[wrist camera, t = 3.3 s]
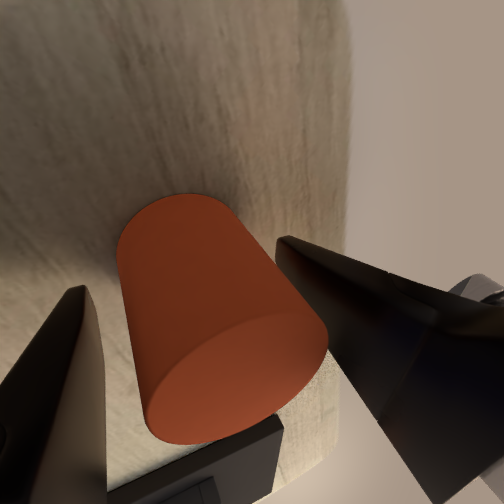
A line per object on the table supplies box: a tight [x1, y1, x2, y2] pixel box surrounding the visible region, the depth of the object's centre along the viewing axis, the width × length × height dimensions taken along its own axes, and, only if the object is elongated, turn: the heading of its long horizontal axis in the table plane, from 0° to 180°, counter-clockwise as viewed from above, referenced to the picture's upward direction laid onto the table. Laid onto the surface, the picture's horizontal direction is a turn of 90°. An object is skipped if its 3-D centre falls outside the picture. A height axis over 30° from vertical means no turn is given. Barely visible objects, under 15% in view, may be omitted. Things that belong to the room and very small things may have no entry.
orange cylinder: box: [116, 194, 328, 445], centre depth 8 cm, size 4×4×5 cm
